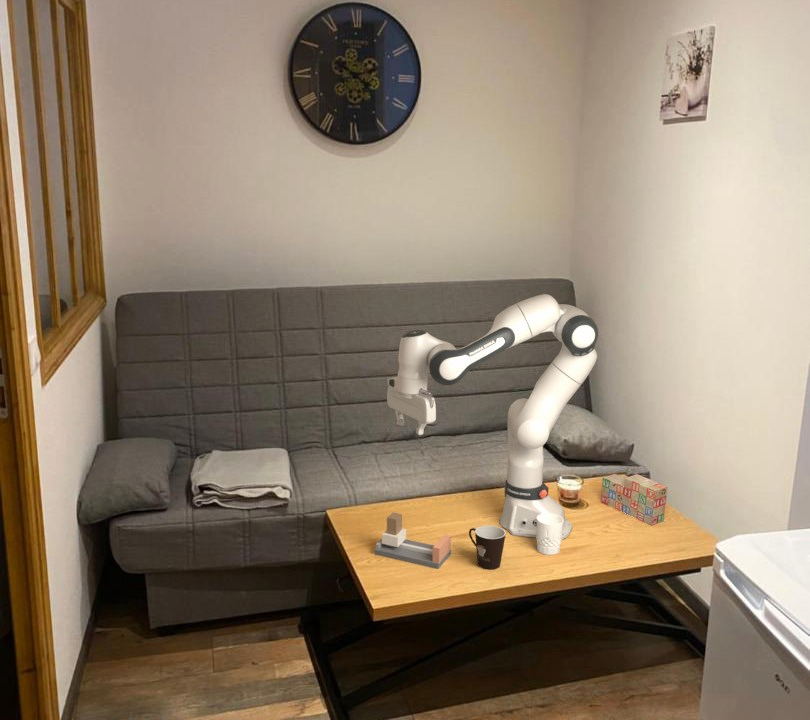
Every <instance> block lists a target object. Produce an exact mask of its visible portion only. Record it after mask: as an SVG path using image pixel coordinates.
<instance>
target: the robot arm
mask: <svg viewBox="0 0 810 720" xmlns="http://www.w3.org/2000/svg"><path fill="white" fill-rule="evenodd" d="M546 332H550V333H552V334H553V336H554V337H555V338H556V339H557V340H558V341H559V342H560V343H561V348H560V351H559V353H558V354H557V355H556V357H554V359H553V360H552V362H551V363H550V364H549V365H548V366H547V368H546V369H545V370H544V372H543V373H542V375H541V376H540V377H539V379H538V380H537V381H536V383H535V384H534V387H533V389H532V392H531V394H530V396H529V397H528V398H523V397H522V398H518V399H516V400H515V401H513V402H512V403H511V404H510V406H509V408H508V412H507V469H506V470H507V472H506V479H505V483H504V504H503V509H502V512H501V515H500V519H499V524H500V525H501V527H503V529H506V530H507V531H508V532H509V533H510V535H512V536H516V537H517V536H518V537H525V538H527V537H528V538H535V539H537V537H536V526H537V516H538V515H540V514H544V513H552V514H556V515H559V516H561V517H562V518H563V519H564V524H563V532H562V540H564V539H566V538H567V537H568V536H570V534H571V533H572V530H573V523H572V522H571V521H570V520H569V519H566V515H565V509H564V507H563V506H562V505H561V504H560V503H559V502H557V501H556V499H553V497H551V496H550V494H549V488H550V484H549V483H548V484H547V485H546V484H545V482H544V481H543V477H544V462H545V459H544V458H545V457H544V445H545V444H546V443H547V441H548V439H549V436H550V434H551V431H552V429H553V428H554V426H555V424H556V423H557V421H558V419H559V417H560V415H561V413H562V412H563V411H564V408H565V407H566V405H567V404H568V402H569V401H570V399H571V398H572V397H573V396H574V395H575V393H576V392H577V391H578V390H579V388H580V387H581V386H582V384H583V383H584V382H585V380H586V379H587V377H588V376H589V375H590V373H591V371H592V369H593V368H594V366H595V364H596V362H597V359H598V353H597V351H596V349H595V347H596V344H597V341H598V337H599V329H598V325H597V324H596V322H595V320H594V319H592V317H590V316H589V315H588V313H587V312H585V311H584V310H582V309H580V308H578V307H577V306H576V305H574V304H573V303H569V302H558V301H557V299H555V298H554V297H553V296H552V295H550V294H547V293H543V294H538V295H535V296H532V297H529V298H526V299H523V300H521V301H519V302H516V303H514V304H512V305H509V306H508V307H506V308H505V309H504V310H502V311H500V312H499V313H498V314H497V315H496V316H495V317H494V320H493V323H492V326H491V328H490V330H489V331H488V332H487V333H485V335H484V336H481V337H480V338H478V339H476V340H475V341H472V342H471V343H469V344H467V345H465V346H463V347H460V348H458V349H457V348H456V347H455V345H453V344H452V343H450V342H448V341H445V340H443V339H442V340H441V339H439V338H436V337H435V336H433V335H431V334H430V333H428V332H427V331H426V330H423V329H422V330H421V329H420V330H419V329H416V330H415V329H414V330H409V331H408V332H405V333H404V334H403V335H402V336H401V339H400V342H399V349H398V359H397V360H398V364H399V365H398V366H399V368H398V372H397V376H395V377H389V378H387V386H388V387H387V391H386V392H387V394H386V398H387V399H386V403H387V406H388V407H389V408H390V409H392V410H395V415H396V420H397V421H396V423H397V425H398V426H401V427H402V426H405V424H406V423H405V422H406V419H405V418H404V415H406V416H408V417H410V418H412V419H414V420H416V421H417V424H418V427H416V428H415V434H417V435H418V436H421V435H424V429H425V427H426V426H427V425H428V424H433V423H435V421H436V419H437V408H436V407H437V406H436V400H435V397H434V396H433V394H432V393H431V391H428V376H429V374H430V376H431V378H432V379H433V381H435V382H436V383H437V384H439V385H443V386H452V385H455V384H457V383H458V382H460V381H461V380H462V379H463V378H464V377H465V376H466V375H467V373H468V372H469V371H471V370H472V369H473V368H475V367H476V366H479V365H481V364H482V363H485V362H486V361H488V360H490V359H492V358H494V357H495V356H496V355H499V354H500V353H503V352H504V351H505V350H507V349H510V348H512V347H514V346H517V345H519V344H521V343H523V342H524V343H525V342H526V341H528V340H530V339H532V338H535V337H537V336H538V335H540V334H542V333H546ZM403 414H404V415H403Z"/></svg>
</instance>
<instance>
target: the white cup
mask: <svg viewBox="0 0 810 720" xmlns="http://www.w3.org/2000/svg"><path fill="white" fill-rule="evenodd" d="M563 524H564V519H563V518H562V517H561V516H559V515H556V514H552V513H544V514H540V515H538V516H537V526H536V537H537V538H535V539H536V550H537V552H539V553H540V554H543V555H545V556H547V555H548V556H554V555H558V554H559V553H560V551H561V543H562V540H563V539H562V532H563Z"/></svg>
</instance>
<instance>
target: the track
mask: <svg viewBox="0 0 810 720" xmlns="http://www.w3.org/2000/svg"><path fill="white" fill-rule="evenodd" d="M451 538H452V535H449V534H443V536H442V537H440V539H439V540H438V541H437V542H436V543H435V544H434V545H433V544H429V543H424V542H421V541H415V540H410V539H407V538H406V539H405V540H404V541H403V542H402V543H401V544H400V545H399V546H398V547H395V546H390V545H386V544H382V538H381V539H380V540H379V541H378V542H376V544H375V548H374V550H373V552H374V553H373V555H377V556H380V557H383V558H389V559H393V560H397V561H402V562H407V563H411V564H414V565H418V566H419V565H420V566H424V567H427V568H432V569H437V570H439V569H440V567H442V565H443V564H444V563H446V561H447V559H448V558H449V557H450V556H451V555H452V549H451V547H452V539H451Z"/></svg>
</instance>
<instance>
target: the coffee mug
mask: <svg viewBox="0 0 810 720" xmlns="http://www.w3.org/2000/svg"><path fill="white" fill-rule="evenodd" d="M472 531H473V532H474V535H475V536H474V537H475V540H474V538H473V536H472ZM468 535H469V539H470V540H471V542H472V543H473V545H474V546H475V547H476V549H475V550H476V558H477V559H476V560H477V566H478V567H480V569H483V570H487V571H495V570H497V569H500V566H501V562H502V557H503V553H504V546H505V540H506V535H507V534H506V530H505V528H502V527H500V526H496V525H491V524H490V525H481V526H478V527H476V528H474V527H472V528H470V529H469V530H468Z"/></svg>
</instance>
